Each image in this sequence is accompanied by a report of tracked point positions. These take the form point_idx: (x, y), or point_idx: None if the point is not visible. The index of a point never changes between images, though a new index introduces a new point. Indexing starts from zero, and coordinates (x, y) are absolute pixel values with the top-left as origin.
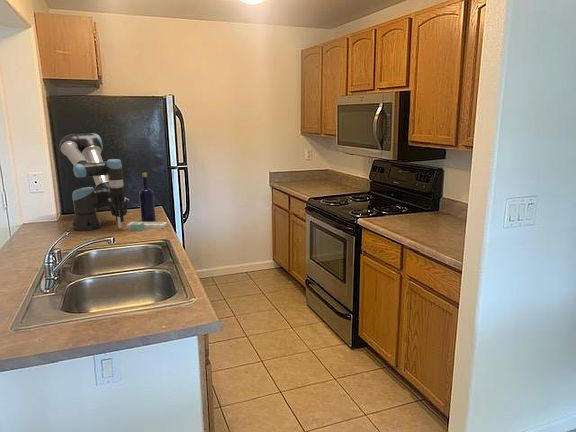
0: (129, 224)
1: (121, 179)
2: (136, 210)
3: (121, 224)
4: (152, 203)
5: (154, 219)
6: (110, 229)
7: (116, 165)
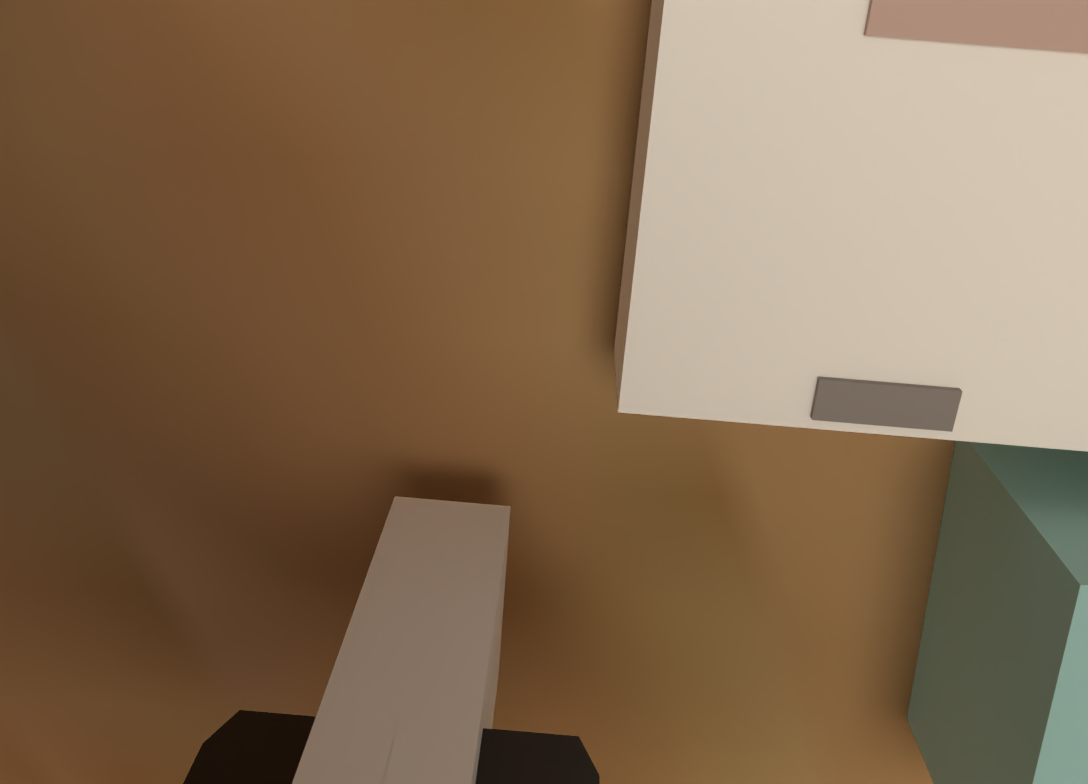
0: (761, 305)
1: None
2: None
3: (490, 692)
4: None
5: None
6: (16, 462)
7: None
